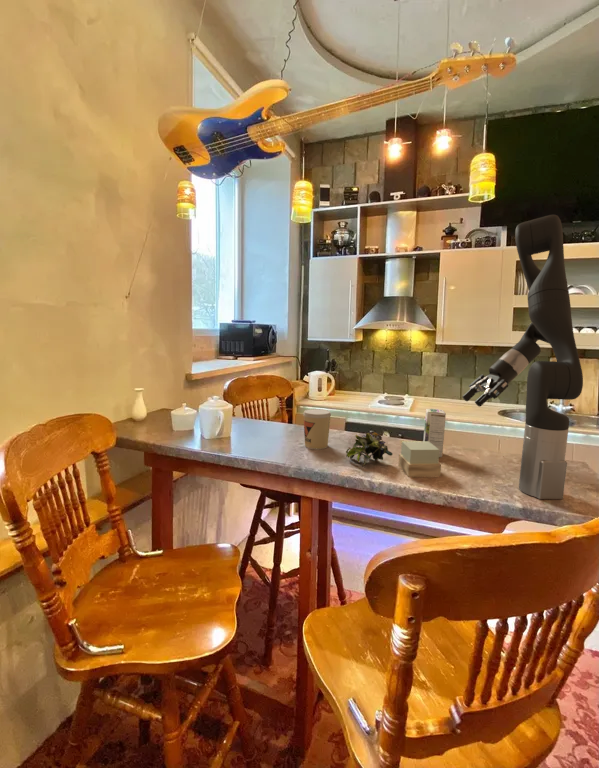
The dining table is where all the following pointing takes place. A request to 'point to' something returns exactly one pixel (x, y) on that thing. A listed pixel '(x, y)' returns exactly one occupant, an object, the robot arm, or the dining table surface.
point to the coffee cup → (316, 428)
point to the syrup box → (435, 428)
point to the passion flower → (368, 447)
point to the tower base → (419, 468)
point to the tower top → (420, 452)
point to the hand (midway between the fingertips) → (470, 401)
